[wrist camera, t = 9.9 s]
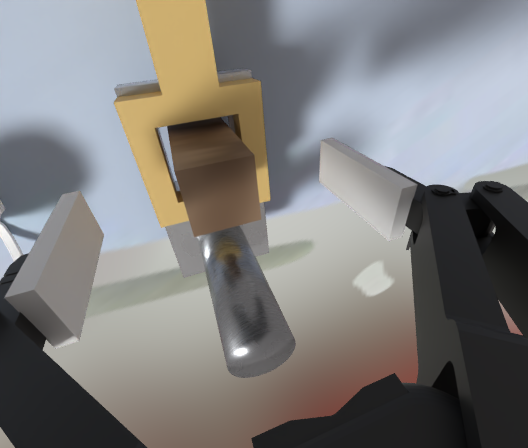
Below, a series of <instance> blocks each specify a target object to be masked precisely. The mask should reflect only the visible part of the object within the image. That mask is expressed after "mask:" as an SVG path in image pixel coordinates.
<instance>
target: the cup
mask: <svg viewBox="0 0 528 448" xmlns="http://www.w3.org/2000/svg"><path fill="white" fill-rule="evenodd" d="M4 210H5V207H4V205H3V203H2V202H1V200H0V218H1V214H2V213H3V211H4ZM0 237H1V239H2V240H3V241H4V243H5V245H6V247H7V249H8V251H9V252H10V254H11V256H12V258H13V261H15V260H17V259H18V258H19V257H20V256H21V255H23V253H22V251H21V249H20V247H19V245H18V243H17V242H16V240H15V238H14V236H13V235H12V234H11V232H10V231H9V230H8V228H7V227H6V225H5V224H3V223H2V222H1V221H0Z"/></svg>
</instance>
